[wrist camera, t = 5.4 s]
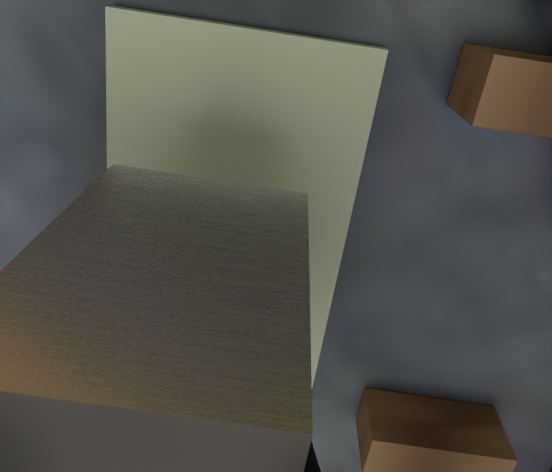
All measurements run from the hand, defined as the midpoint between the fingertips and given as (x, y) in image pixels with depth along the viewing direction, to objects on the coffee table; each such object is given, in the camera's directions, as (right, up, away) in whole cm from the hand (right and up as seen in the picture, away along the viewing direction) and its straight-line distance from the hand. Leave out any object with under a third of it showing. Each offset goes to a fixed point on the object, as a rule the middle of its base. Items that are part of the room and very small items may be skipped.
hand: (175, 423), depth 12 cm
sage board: (0, +4, +8) cm, 9 cm away
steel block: (0, +1, +2) cm, 2 cm away
